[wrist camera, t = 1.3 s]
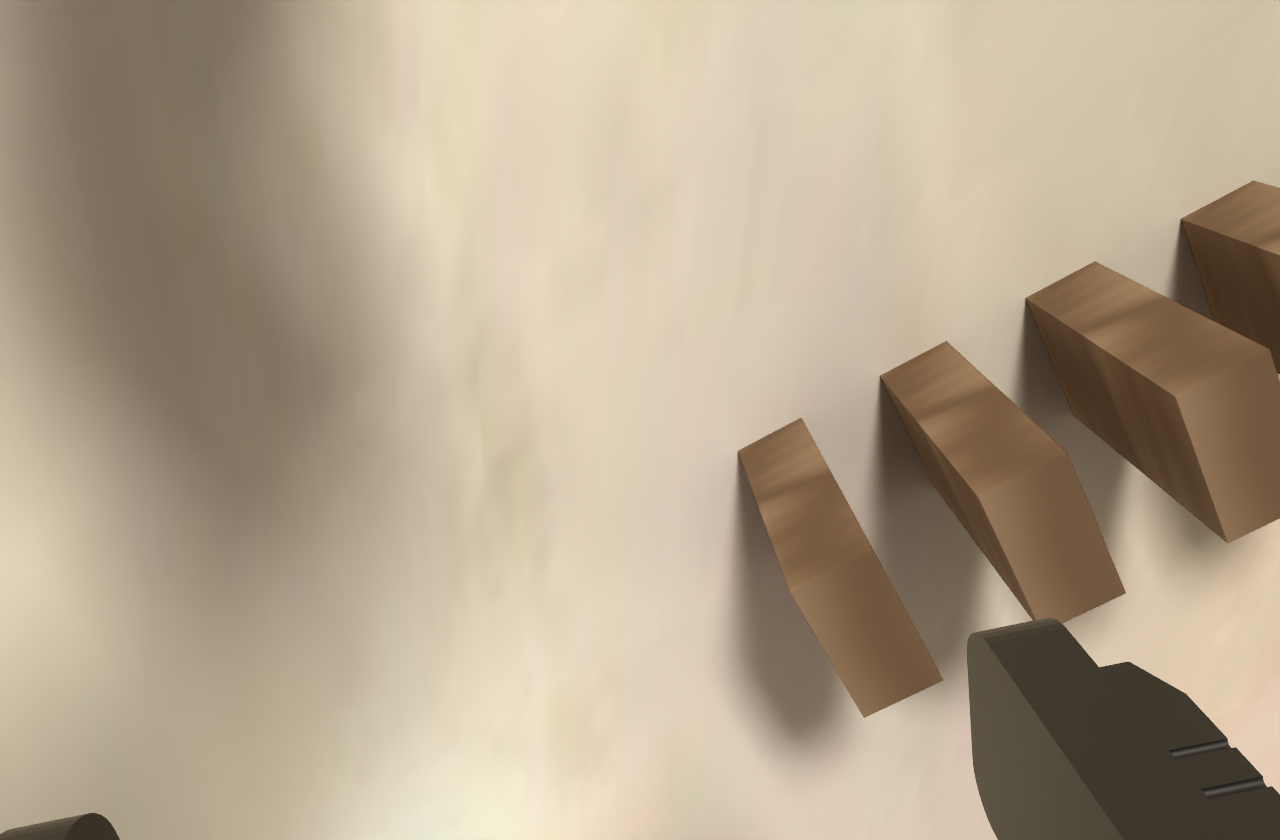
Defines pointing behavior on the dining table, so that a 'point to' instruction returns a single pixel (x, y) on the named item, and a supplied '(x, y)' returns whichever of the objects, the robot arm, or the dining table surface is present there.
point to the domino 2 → (1005, 485)
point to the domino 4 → (1241, 261)
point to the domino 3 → (1169, 394)
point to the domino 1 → (835, 572)
